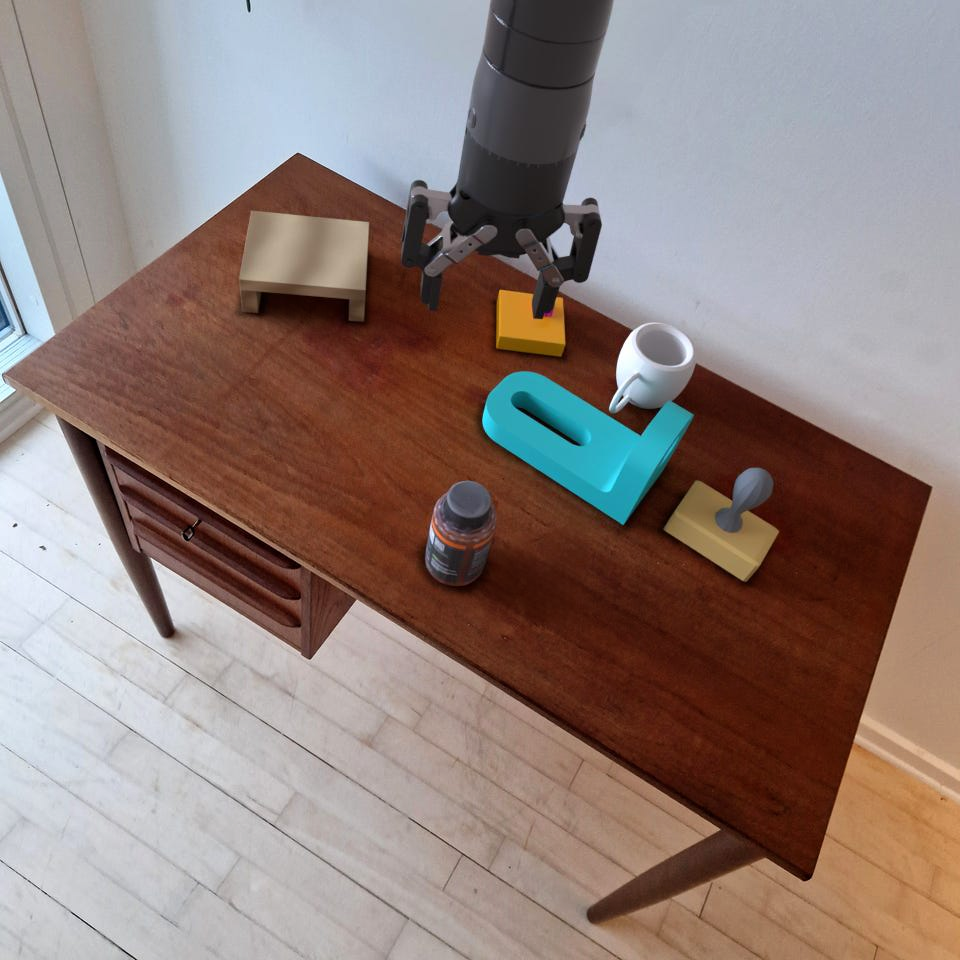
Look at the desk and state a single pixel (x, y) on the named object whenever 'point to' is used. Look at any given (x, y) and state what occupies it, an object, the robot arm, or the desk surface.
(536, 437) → the bracket
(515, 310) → the orange block
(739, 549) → the rubber stamp
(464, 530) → the supplement bottle
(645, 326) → the mug
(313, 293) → the stand
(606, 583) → the desk surface
